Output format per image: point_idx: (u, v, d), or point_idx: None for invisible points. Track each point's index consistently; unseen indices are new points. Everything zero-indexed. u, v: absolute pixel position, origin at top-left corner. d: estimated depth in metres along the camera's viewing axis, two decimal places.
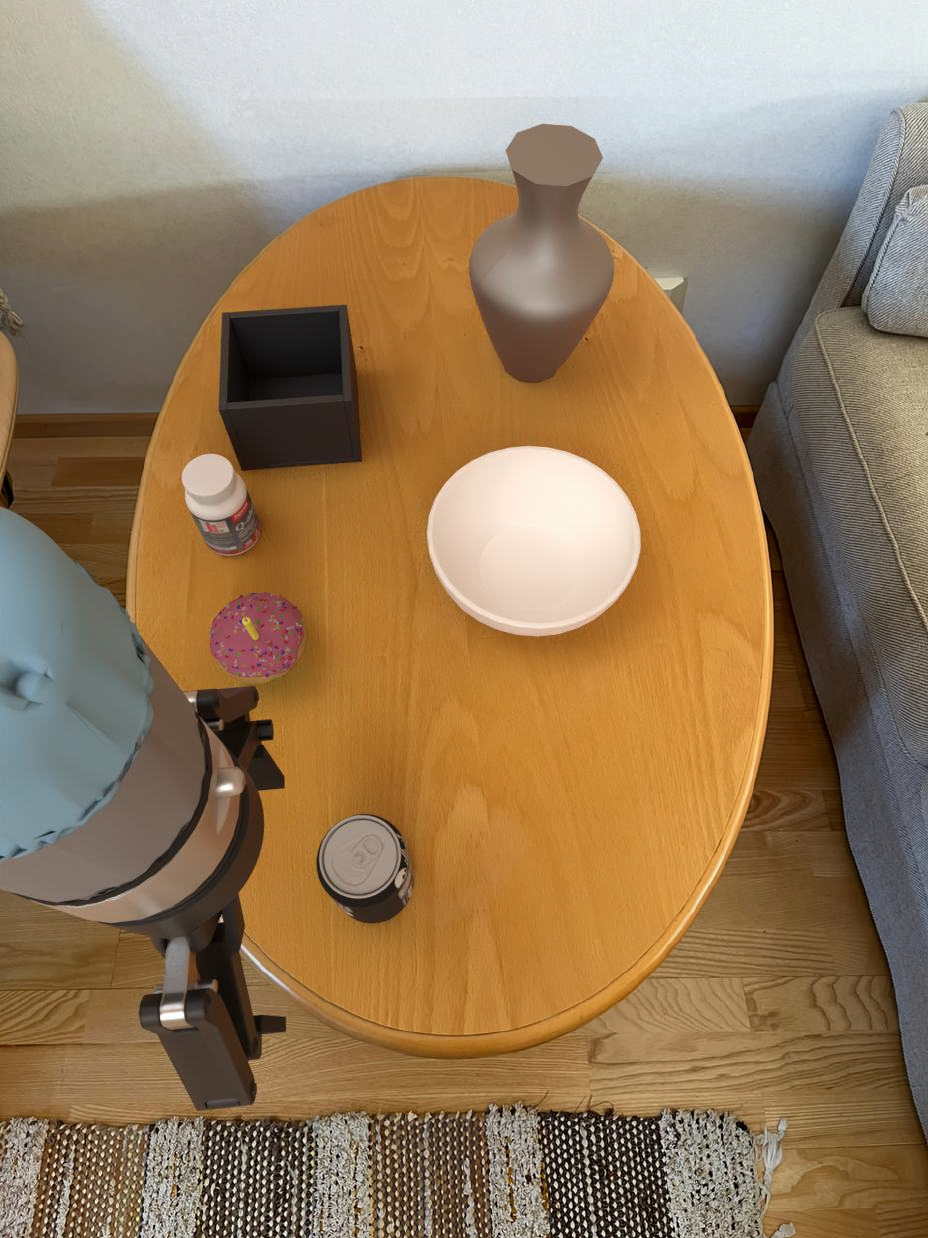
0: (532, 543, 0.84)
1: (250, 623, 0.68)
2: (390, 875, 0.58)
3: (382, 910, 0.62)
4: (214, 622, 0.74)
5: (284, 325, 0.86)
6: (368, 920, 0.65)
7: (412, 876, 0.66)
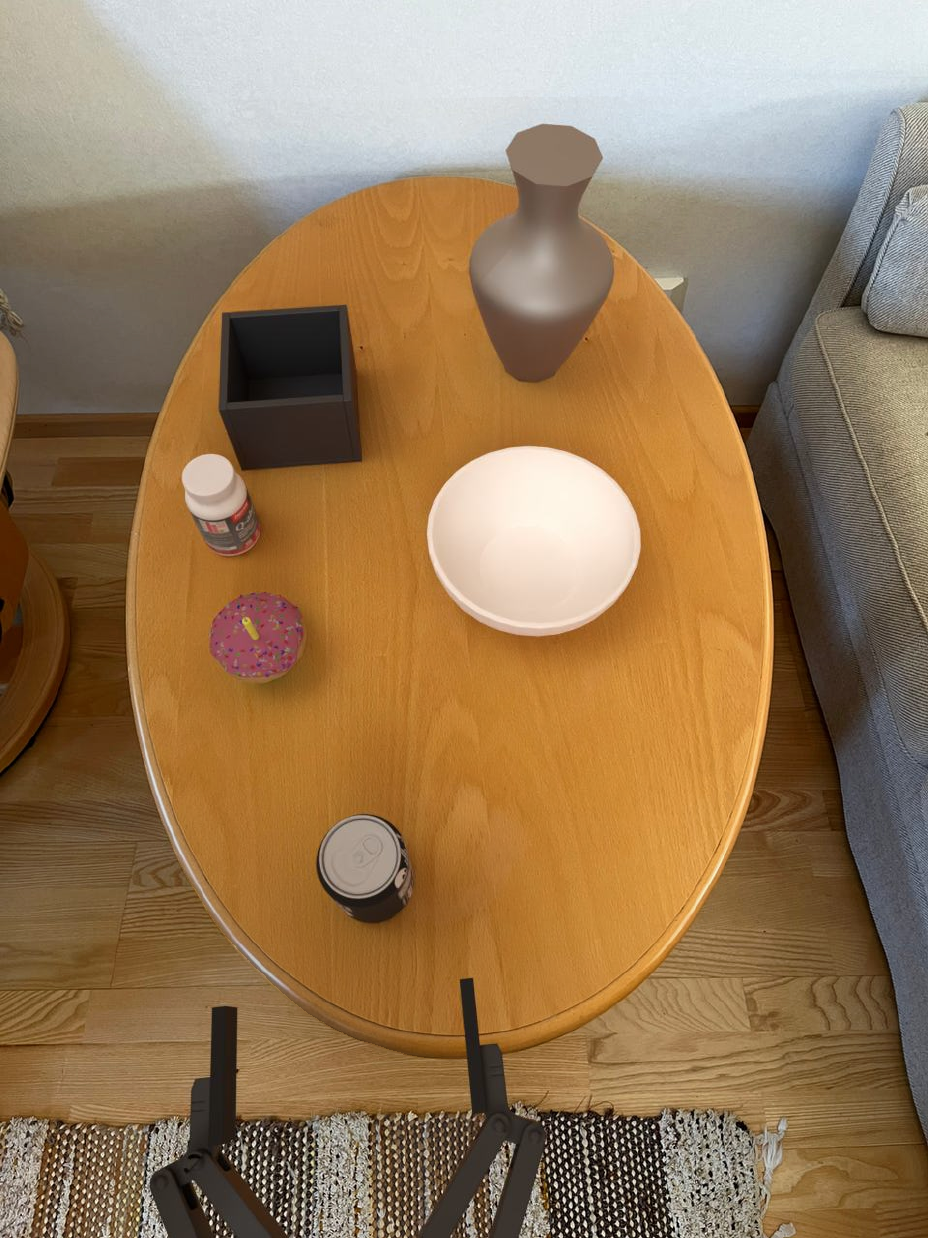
0: (532, 543, 0.84)
1: (250, 623, 0.68)
2: (390, 875, 0.58)
3: (382, 910, 0.62)
4: (214, 622, 0.74)
5: (284, 325, 0.86)
6: (368, 920, 0.65)
7: (412, 876, 0.66)
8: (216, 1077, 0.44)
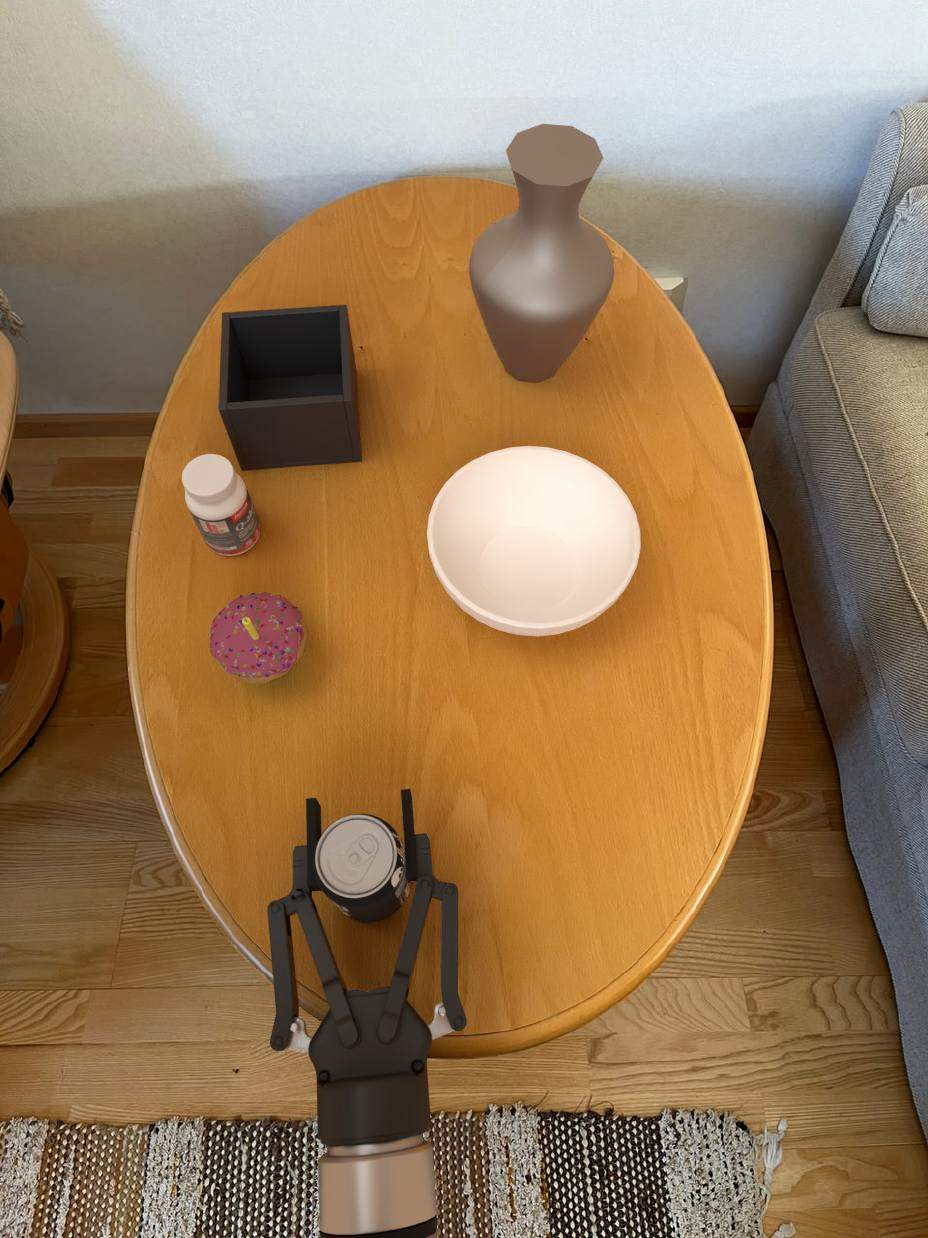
0: (532, 543, 0.84)
1: (250, 623, 0.68)
2: (386, 874, 0.58)
3: (379, 909, 0.62)
4: (214, 622, 0.74)
5: (284, 325, 0.86)
6: (365, 920, 0.65)
7: None
8: (311, 843, 0.63)
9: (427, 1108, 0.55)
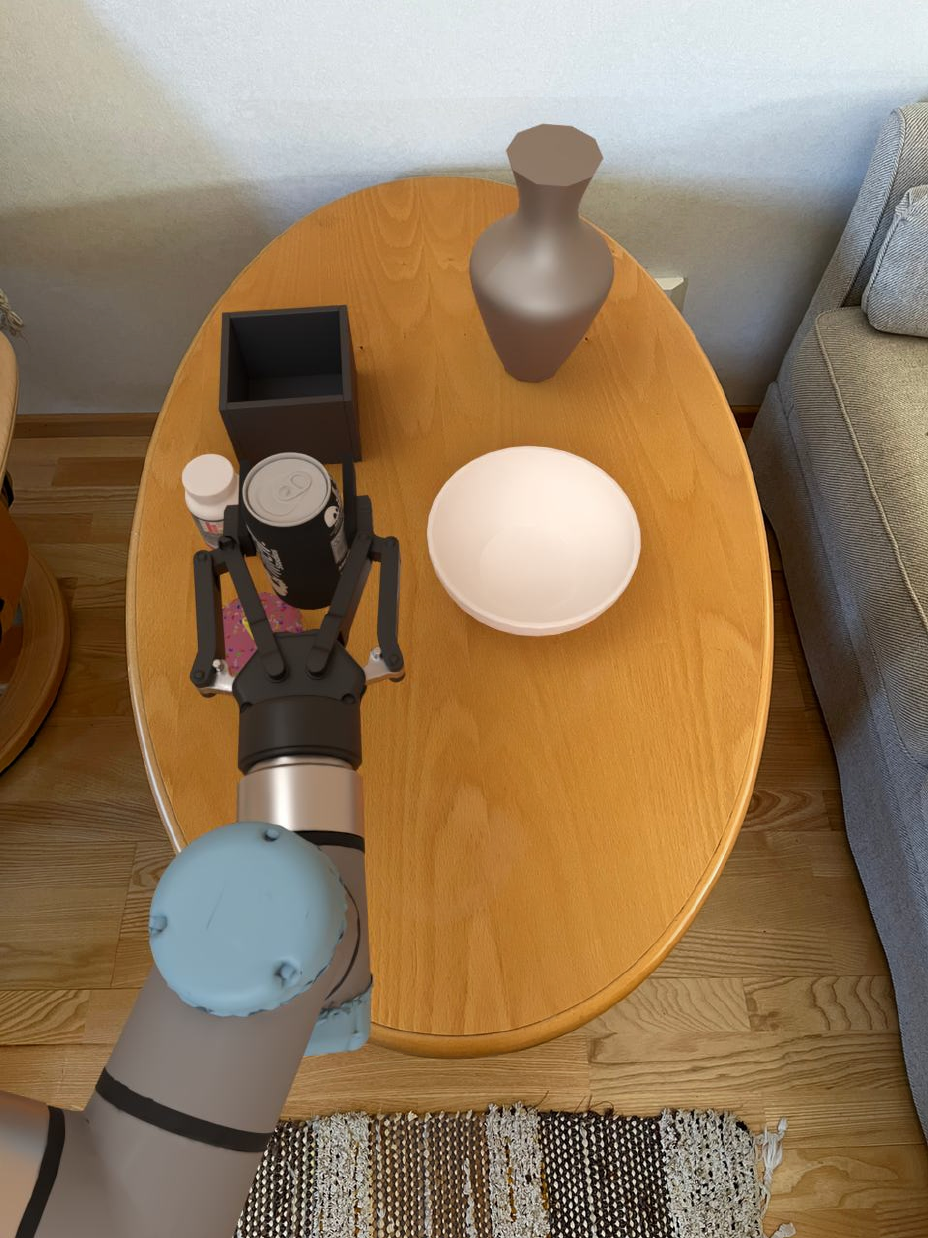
0: (532, 543, 0.84)
1: None
2: (319, 507, 0.54)
3: (315, 567, 0.58)
4: None
5: (284, 325, 0.86)
6: (304, 597, 0.61)
7: None
8: None
9: (357, 738, 0.51)
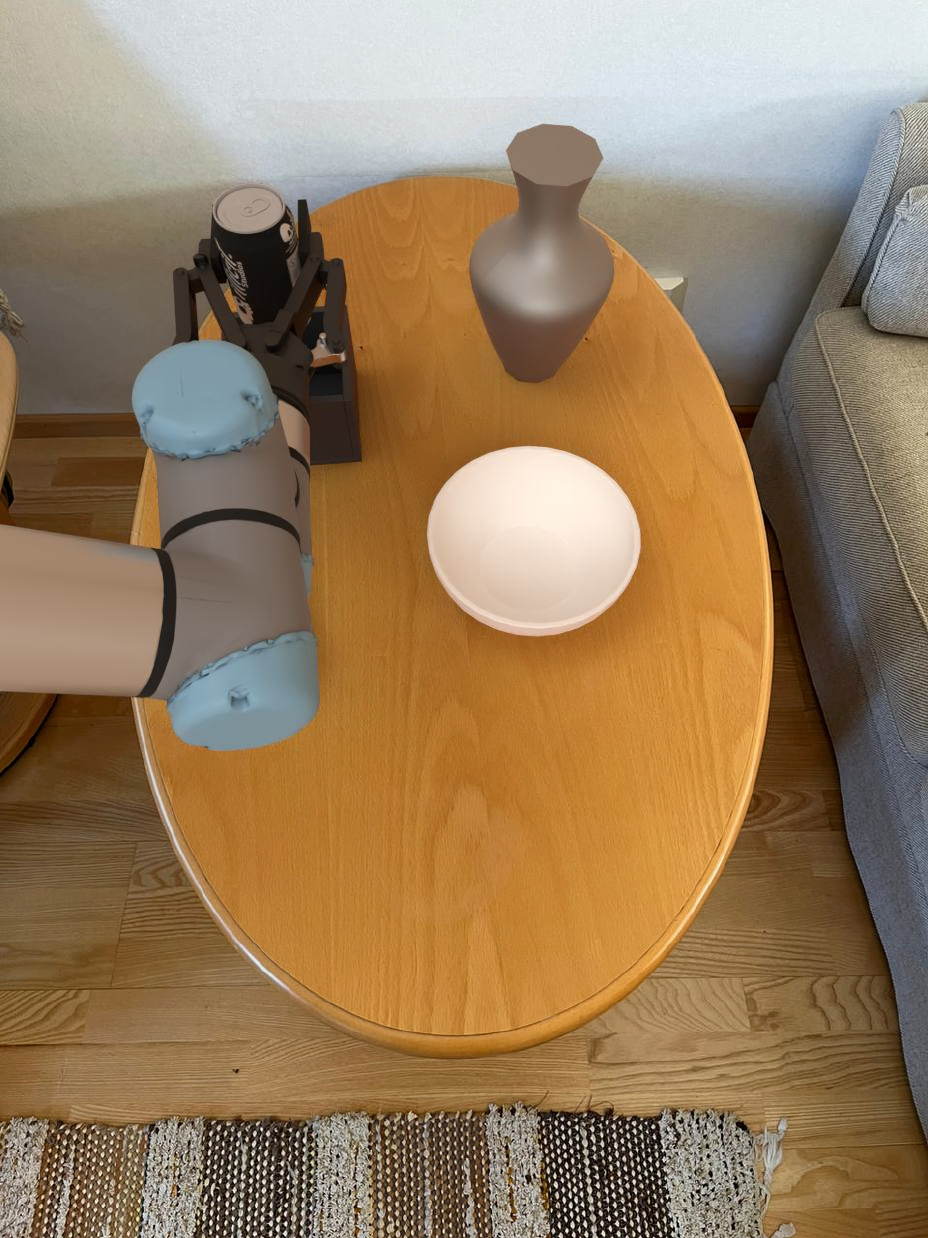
0: (532, 543, 0.84)
1: None
2: None
3: (274, 286, 0.70)
4: None
5: None
6: None
7: None
8: None
9: (305, 395, 0.63)
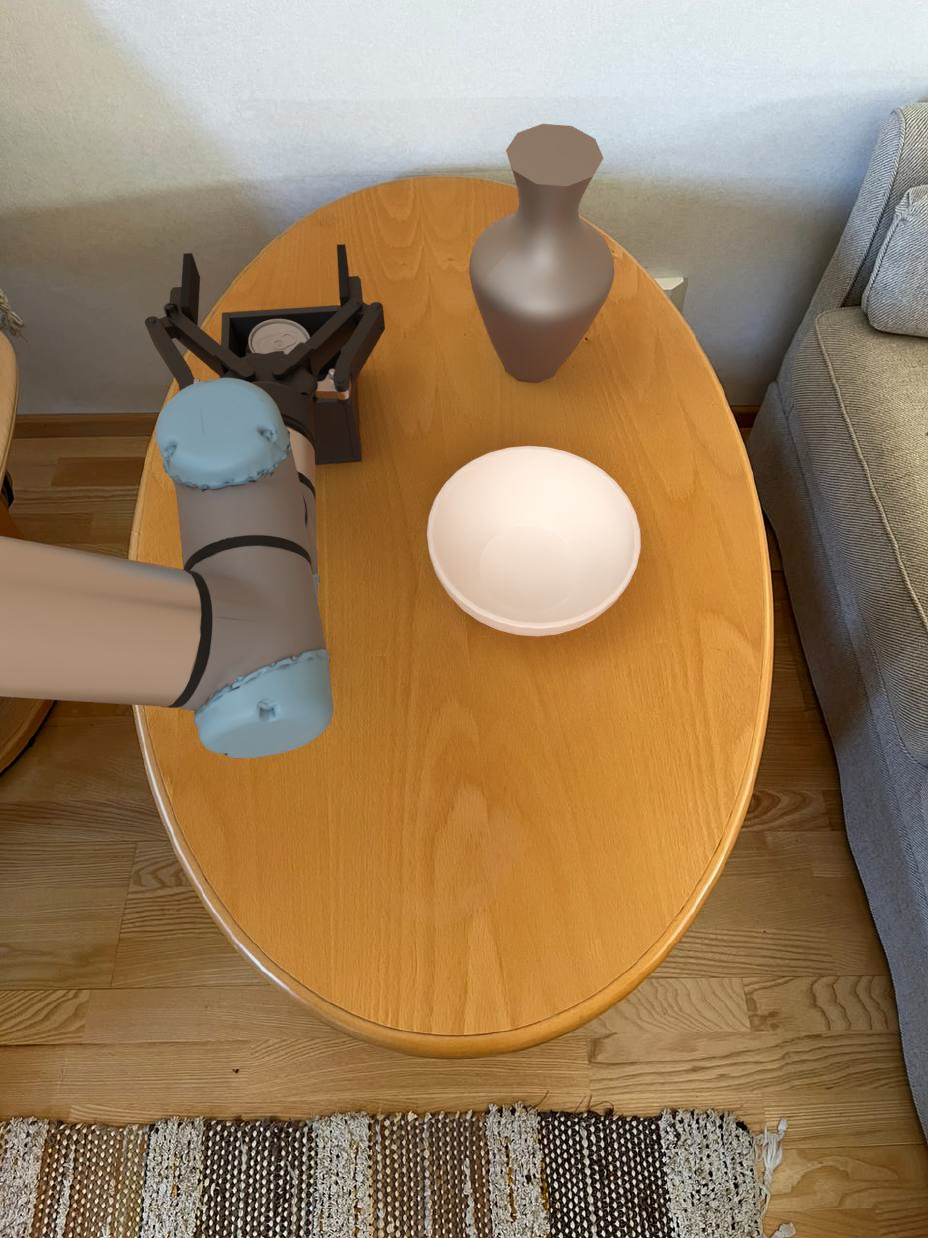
0: (532, 543, 0.84)
1: None
2: None
3: None
4: None
5: None
6: None
7: None
8: (185, 280, 0.73)
9: (310, 421, 0.67)
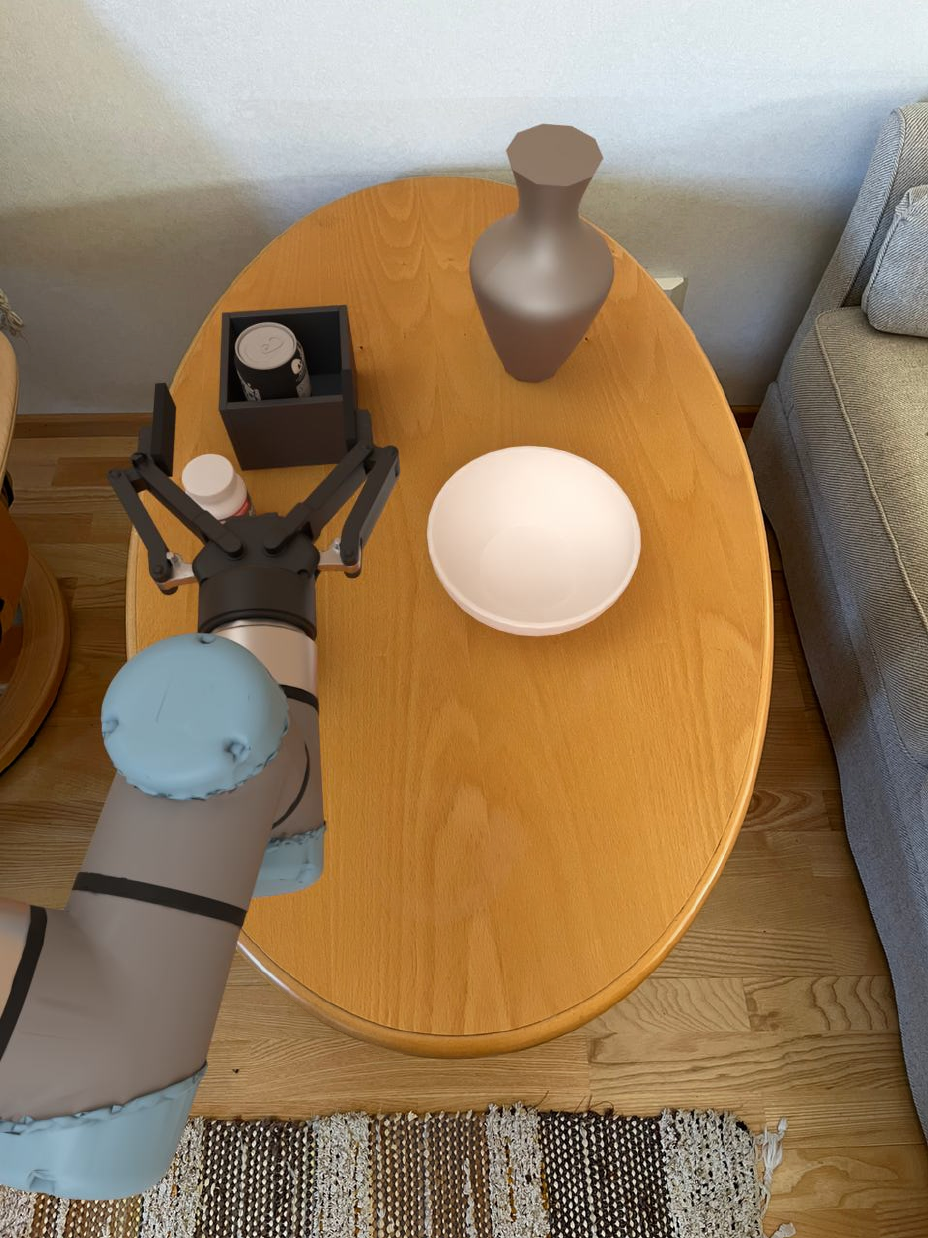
0: (532, 543, 0.84)
1: None
2: (287, 357, 0.79)
3: None
4: None
5: (284, 325, 0.86)
6: None
7: None
8: (157, 419, 0.60)
9: (311, 609, 0.54)
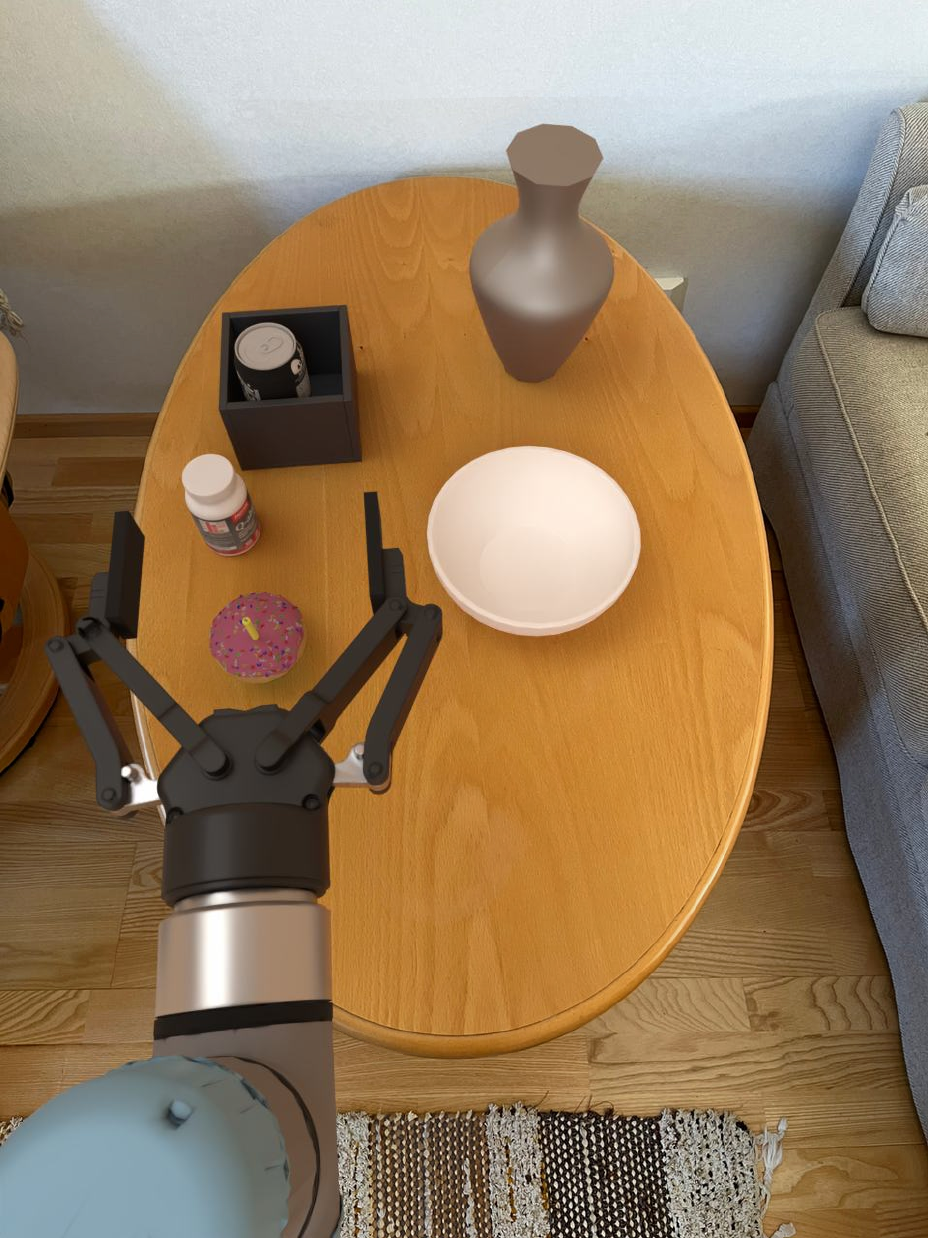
0: (532, 543, 0.84)
1: (250, 623, 0.68)
2: (287, 358, 0.79)
3: None
4: (214, 622, 0.74)
5: (284, 325, 0.86)
6: None
7: None
8: (116, 564, 0.44)
9: (323, 857, 0.38)
